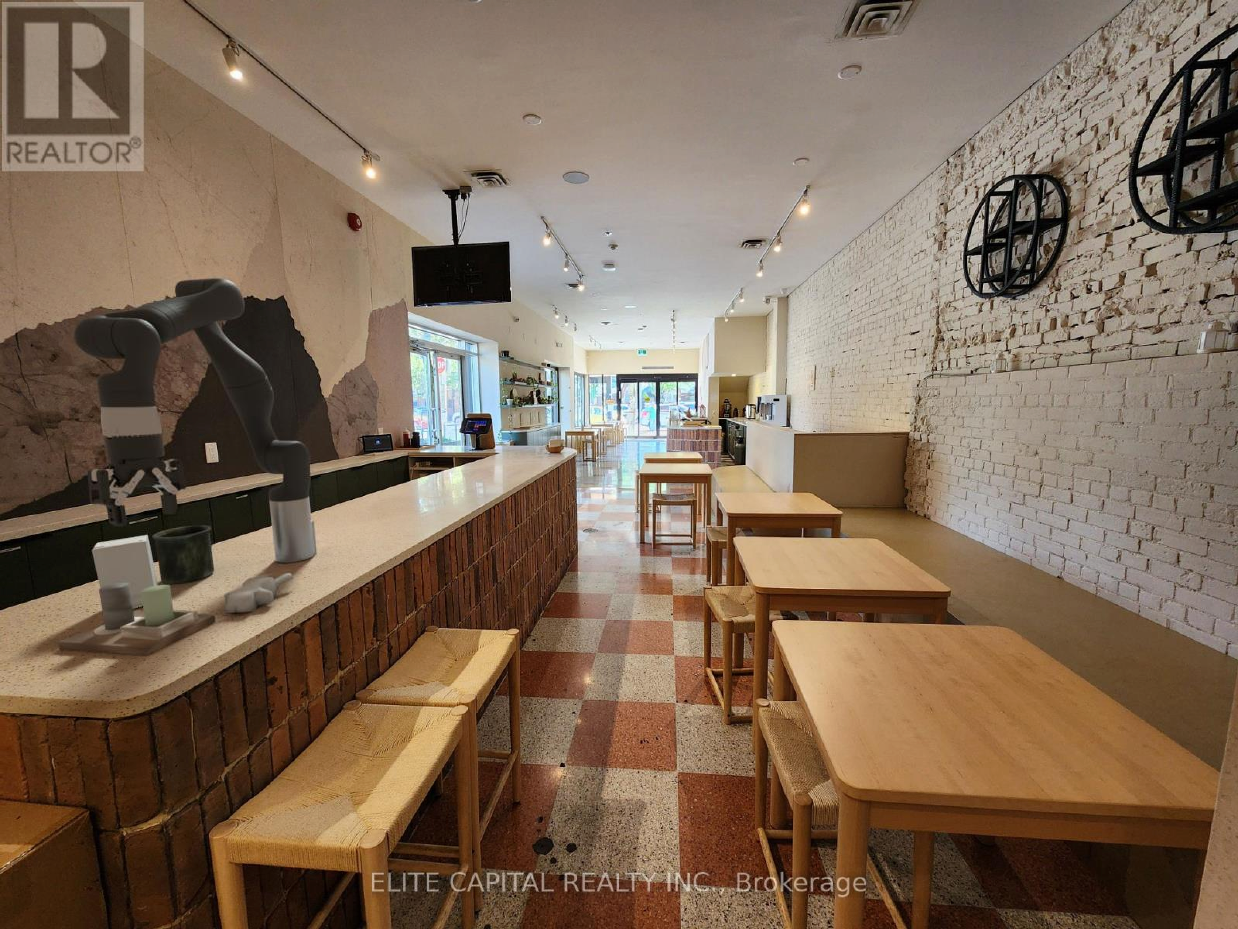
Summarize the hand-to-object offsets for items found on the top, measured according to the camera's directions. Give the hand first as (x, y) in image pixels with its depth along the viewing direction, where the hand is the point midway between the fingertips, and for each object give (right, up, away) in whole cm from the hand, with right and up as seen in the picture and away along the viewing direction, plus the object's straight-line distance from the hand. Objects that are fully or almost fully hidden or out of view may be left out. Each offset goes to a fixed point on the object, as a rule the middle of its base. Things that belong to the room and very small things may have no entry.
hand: (145, 519), depth 89 cm
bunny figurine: (+7, -21, +19) cm, 29 cm away
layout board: (-4, -23, +4) cm, 23 cm away
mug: (-22, -18, +35) cm, 45 cm away
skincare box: (-19, -21, +17) cm, 33 cm away
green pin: (0, -21, +3) cm, 22 cm away
